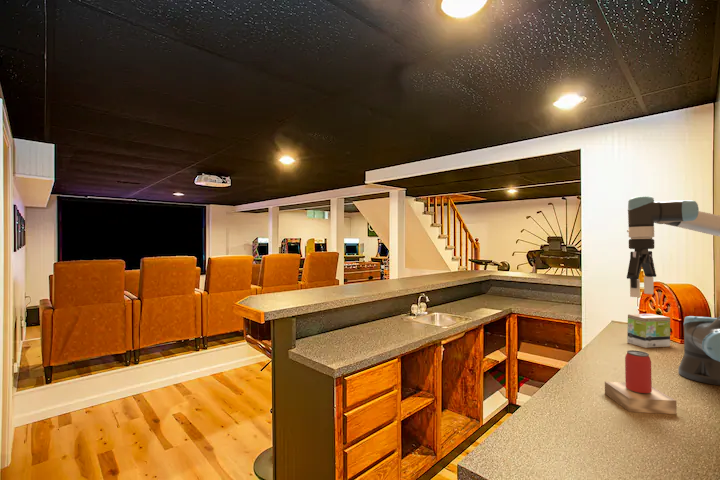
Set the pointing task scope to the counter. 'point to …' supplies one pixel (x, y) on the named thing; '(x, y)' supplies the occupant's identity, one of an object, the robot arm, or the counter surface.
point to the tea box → (648, 330)
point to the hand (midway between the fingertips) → (642, 295)
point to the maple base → (640, 399)
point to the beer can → (638, 372)
